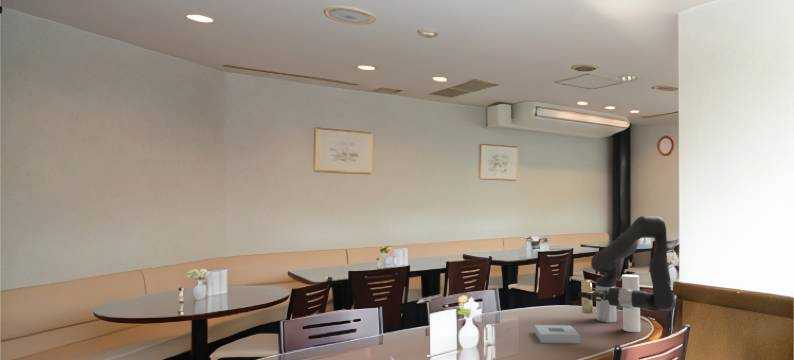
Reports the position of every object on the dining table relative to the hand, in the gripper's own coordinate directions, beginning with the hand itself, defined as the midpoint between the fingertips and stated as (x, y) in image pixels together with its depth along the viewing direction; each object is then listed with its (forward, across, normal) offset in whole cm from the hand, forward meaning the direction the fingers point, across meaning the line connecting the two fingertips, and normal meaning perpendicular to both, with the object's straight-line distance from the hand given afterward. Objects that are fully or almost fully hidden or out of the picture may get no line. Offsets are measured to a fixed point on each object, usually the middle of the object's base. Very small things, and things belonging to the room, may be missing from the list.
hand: (580, 293), depth 225 cm
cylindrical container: (-16, -23, +19) cm, 34 cm away
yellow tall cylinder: (-3, 0, +8) cm, 8 cm away
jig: (+8, +9, +19) cm, 22 cm away
